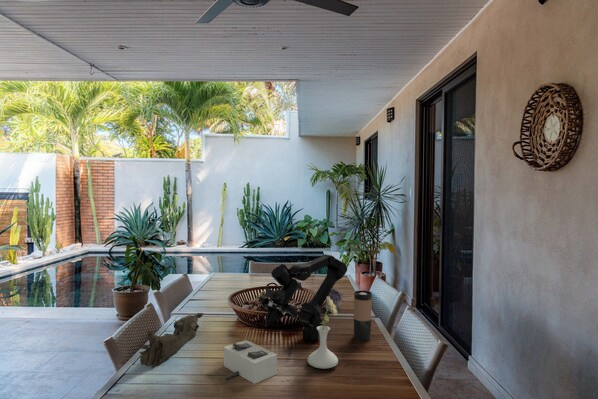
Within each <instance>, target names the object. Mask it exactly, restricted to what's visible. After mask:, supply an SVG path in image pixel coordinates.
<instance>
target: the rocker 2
mask: <svg viewBox="0 0 598 399" xmlns="http://www.w3.org/2000/svg"><path fill="white" fill-rule="evenodd" d="M265 355H268V354H266V353H264V352H262V351H256V352H248V356H250V357H252V358H260V357H262V356H265Z"/></svg>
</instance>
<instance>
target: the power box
mask: <svg viewBox="0 0 598 399" xmlns="http://www.w3.org/2000/svg"><path fill="white" fill-rule="evenodd" d="M234 343H235V344H242V345H247V346H249V347H250V348H247V349H244V350H242V349H237V348H235V347H234V346H233V344H234ZM234 343H232V344H229V345H226V346H224V347H223V367H225V368H227V369H228V370H230V371H232V373H229V374H226V375H225V379H226V380H228V379H229V380H230V379H231V378H233V377H236V376H238V375H239V376H240V377H242V378H244V379H245V380H246V381H248V382H250V383H252V384H257V383H259V382H262V381H264V380H266V379H269V378H271V377H274V376H276V375H277V373H278V371H277V370H278V354H277V353H275V352H273V351H270V350H268V349H266V348H264V347H262V346H259V345H257V344H256V343H253V342H251V341H249V340H247V339H245V340H242V341H238V342H234ZM256 351H262V352H264V353H266V354H268V355H265V356H262V357H260V358H252V357H250V356H248V352H256Z"/></svg>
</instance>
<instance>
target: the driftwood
mask: <svg viewBox="0 0 598 399" xmlns="http://www.w3.org/2000/svg"><path fill="white" fill-rule="evenodd" d="M203 316H204V313H203V312H197V314H193V315H191V314H188V315H187V316H183V317H181V318H180V319H178V320H177V321H176V320H174V323H173V328H174V331H173V333H164V334H163V335H161V336H158V335H157V334H154V332H152V331H150V330H149V329H148V330H146V331H147V334H146V337H147V340H148V344H143V345H140V346H139V349H143V351H140V352H139V354H140V355H139V358H140V359H139V361H140V364H141V366H143V365H144V366H145V367H152V368H154V367H156V366H160V365H161V364H163V363H164V362H166V361H167V360H169V359H170V358H171V357H172V356H173V355H175V354H177V353H178V352H179V351H180V350H181V349H182V348H183V346H184V345H186V343H188V342H189V341H190V340H192V339H194V338H196V336H197V331H198V329H199V328H200V325H199V324H198V321H199V319H200V318H202V317H203Z"/></svg>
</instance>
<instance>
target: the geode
mask: <svg viewBox="0 0 598 399" xmlns="http://www.w3.org/2000/svg"><path fill="white" fill-rule="evenodd" d="M329 297H330V300H331V299H332V300H333V303H334V305H335V306H336V308H335V309H336V310H337V312H339V311H340V309H341V306H342V302H343V300H342V299H343V297H344V296H343V293H341V292H339V291H338V290H337V289H335V288H332V289H331V291H330V293H329V294H328V298H329ZM326 299H327V298H326ZM328 307H329V305H328V302H327V304H326V305H325V307H324V309H325V311H327V309H328ZM327 313H332V312H331V310H330V308H329V309H328V311H327ZM332 314H333V313H332Z"/></svg>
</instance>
